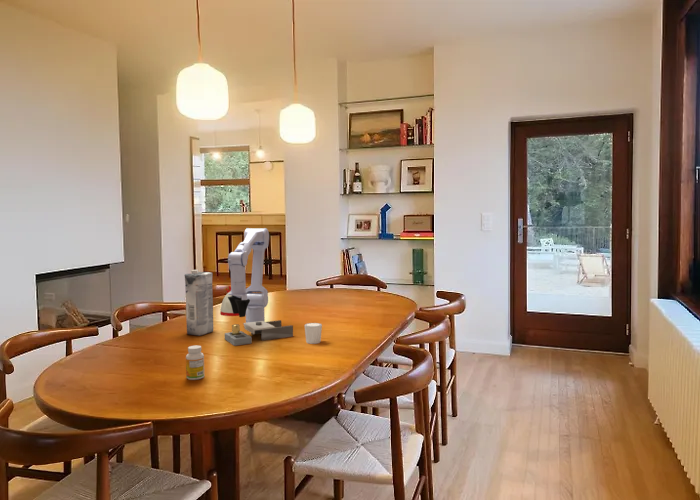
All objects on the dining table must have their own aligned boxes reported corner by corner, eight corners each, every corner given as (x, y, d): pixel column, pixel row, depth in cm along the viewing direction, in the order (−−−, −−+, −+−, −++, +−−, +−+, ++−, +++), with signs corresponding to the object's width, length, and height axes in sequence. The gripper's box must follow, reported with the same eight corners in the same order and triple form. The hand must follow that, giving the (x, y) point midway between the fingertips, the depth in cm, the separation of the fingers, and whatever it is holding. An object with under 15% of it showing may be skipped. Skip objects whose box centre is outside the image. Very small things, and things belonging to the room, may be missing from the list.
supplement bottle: (188, 374, 165) (187, 344, 164) (205, 374, 166) (205, 344, 165) (184, 380, 160) (183, 349, 159) (202, 379, 160) (201, 349, 159)
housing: (250, 334, 218) (250, 323, 218) (280, 330, 225) (280, 320, 225) (262, 340, 207) (261, 329, 207) (293, 336, 214) (292, 325, 214)
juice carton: (216, 331, 224) (215, 269, 222) (200, 336, 214) (198, 271, 212) (200, 329, 228) (198, 268, 225) (183, 334, 218) (181, 270, 216)
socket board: (224, 339, 210) (224, 333, 210) (241, 336, 214) (241, 330, 213) (234, 345, 200) (234, 339, 200) (251, 343, 203) (251, 337, 203)
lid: (243, 328, 216) (243, 320, 216) (262, 325, 221) (262, 318, 221) (254, 334, 205) (254, 326, 205) (274, 331, 210) (274, 324, 210)
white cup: (324, 340, 207) (324, 323, 207) (318, 344, 201) (317, 327, 200) (308, 339, 209) (308, 322, 209) (301, 343, 203) (301, 325, 202)
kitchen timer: (245, 316, 255) (244, 286, 254) (217, 316, 256) (216, 286, 254) (251, 310, 269) (250, 281, 268) (224, 310, 270) (223, 282, 268)
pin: (237, 338, 211) (237, 324, 211) (241, 340, 209) (240, 325, 208) (231, 339, 209) (230, 325, 209) (234, 341, 207) (233, 326, 206)
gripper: (223, 280, 212) (223, 313, 213) (234, 284, 200) (235, 319, 201) (239, 279, 216) (240, 311, 217) (251, 283, 203) (252, 317, 205)
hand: (239, 315), depth 209 cm, fingers open, 7 cm apart
